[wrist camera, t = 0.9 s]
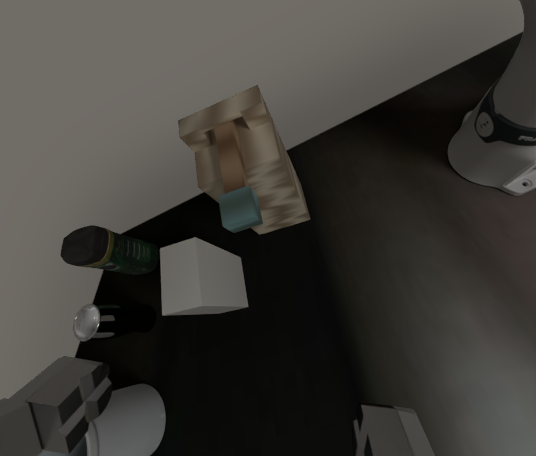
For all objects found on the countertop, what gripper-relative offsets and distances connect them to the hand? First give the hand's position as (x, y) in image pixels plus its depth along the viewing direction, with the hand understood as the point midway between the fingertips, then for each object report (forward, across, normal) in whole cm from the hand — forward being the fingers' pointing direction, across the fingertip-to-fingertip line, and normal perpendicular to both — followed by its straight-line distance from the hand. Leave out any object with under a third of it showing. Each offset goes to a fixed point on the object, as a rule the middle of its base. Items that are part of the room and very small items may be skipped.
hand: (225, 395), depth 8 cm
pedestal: (+43, +12, +21) cm, 49 cm away
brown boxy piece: (+51, +2, +4) cm, 51 cm away
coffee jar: (+51, +37, +20) cm, 66 cm away
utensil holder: (+31, +28, +48) cm, 64 cm away
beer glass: (+42, +33, +32) cm, 62 cm away
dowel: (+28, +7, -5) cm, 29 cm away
